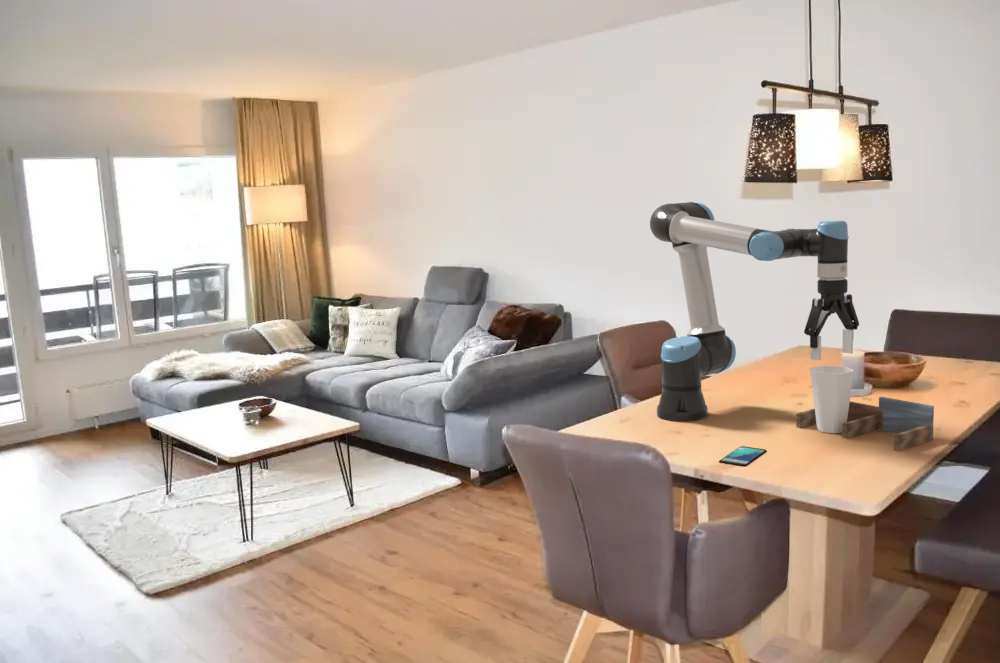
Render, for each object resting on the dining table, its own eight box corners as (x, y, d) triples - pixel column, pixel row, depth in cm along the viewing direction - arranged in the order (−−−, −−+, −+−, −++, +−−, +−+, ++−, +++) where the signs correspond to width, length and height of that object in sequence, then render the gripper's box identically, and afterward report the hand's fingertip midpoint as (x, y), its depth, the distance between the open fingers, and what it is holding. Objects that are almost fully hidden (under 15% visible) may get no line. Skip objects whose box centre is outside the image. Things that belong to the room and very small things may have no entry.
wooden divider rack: (898, 451, 206) (898, 416, 205) (796, 427, 232) (796, 396, 230) (932, 439, 214) (933, 406, 212) (830, 417, 240) (831, 387, 238)
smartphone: (717, 461, 204) (740, 445, 216) (717, 464, 204) (740, 448, 216) (745, 465, 200) (767, 449, 212) (745, 468, 200) (767, 452, 212)
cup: (805, 432, 226) (805, 371, 224) (814, 423, 235) (814, 364, 232) (849, 436, 220) (849, 374, 217) (856, 427, 228) (857, 367, 226)
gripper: (814, 283, 212) (814, 364, 215) (873, 275, 224) (872, 351, 228) (790, 282, 218) (790, 360, 221) (849, 274, 231) (848, 348, 234)
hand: (832, 356), depth 224 cm, fingers open, 13 cm apart
